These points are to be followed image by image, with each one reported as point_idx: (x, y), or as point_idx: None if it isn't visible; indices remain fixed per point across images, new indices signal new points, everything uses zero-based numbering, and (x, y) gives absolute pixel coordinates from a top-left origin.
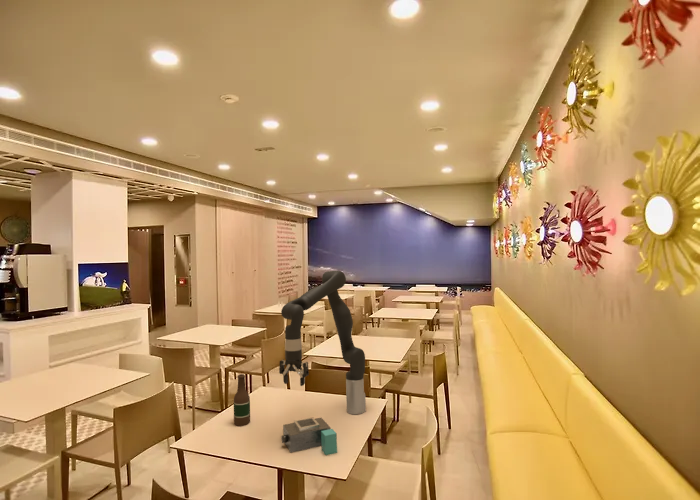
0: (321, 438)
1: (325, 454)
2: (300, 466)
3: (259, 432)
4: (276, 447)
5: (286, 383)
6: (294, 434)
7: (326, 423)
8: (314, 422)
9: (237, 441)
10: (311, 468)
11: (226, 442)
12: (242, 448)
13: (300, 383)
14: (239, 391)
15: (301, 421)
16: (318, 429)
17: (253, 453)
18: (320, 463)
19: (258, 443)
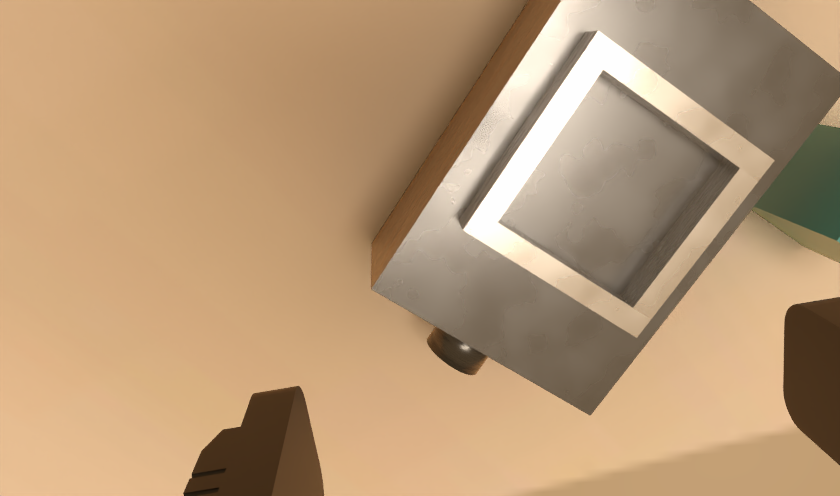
0: (794, 223)
1: (805, 246)
2: (718, 435)
3: (66, 240)
4: (403, 347)
5: (317, 456)
6: (607, 377)
7: (766, 19)
8: (680, 126)
9: (65, 437)
10: None
11: (10, 488)
12: None
13: (837, 453)
14: None
15: (526, 172)
16: (759, 185)
17: (326, 485)
18: None
19: (233, 375)
